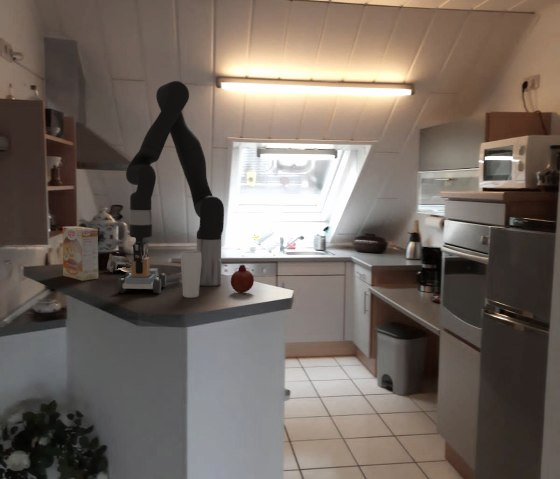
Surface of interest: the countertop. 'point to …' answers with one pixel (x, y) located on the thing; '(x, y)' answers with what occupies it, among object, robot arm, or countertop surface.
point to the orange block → (145, 267)
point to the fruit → (242, 280)
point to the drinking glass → (191, 273)
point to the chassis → (142, 282)
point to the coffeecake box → (80, 253)
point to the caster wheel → (117, 262)
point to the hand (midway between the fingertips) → (140, 271)
